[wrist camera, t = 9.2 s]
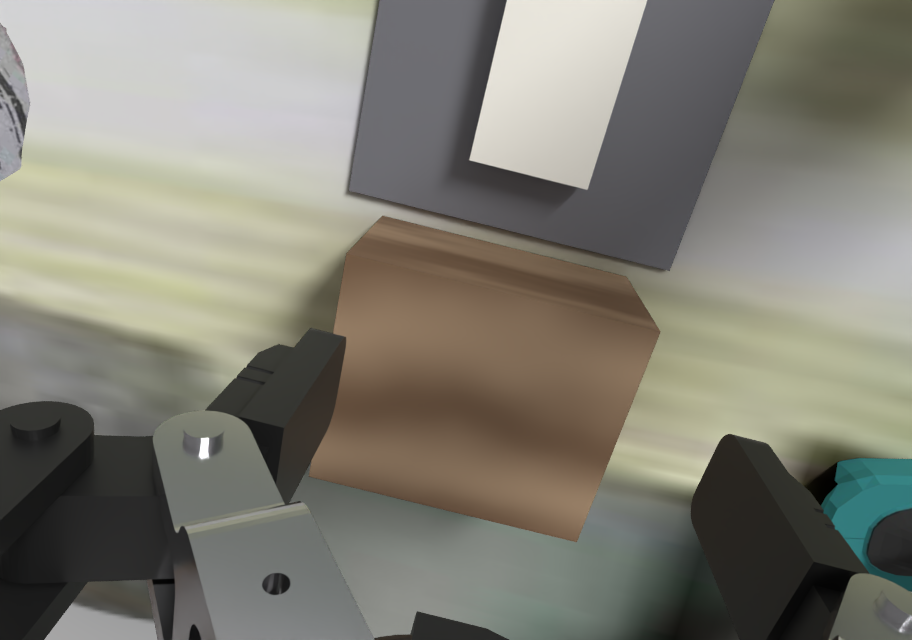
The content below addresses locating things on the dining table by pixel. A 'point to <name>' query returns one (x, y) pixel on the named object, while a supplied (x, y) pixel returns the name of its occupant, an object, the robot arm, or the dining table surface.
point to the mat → (624, 145)
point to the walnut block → (481, 377)
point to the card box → (555, 86)
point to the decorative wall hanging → (11, 106)
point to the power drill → (875, 514)
